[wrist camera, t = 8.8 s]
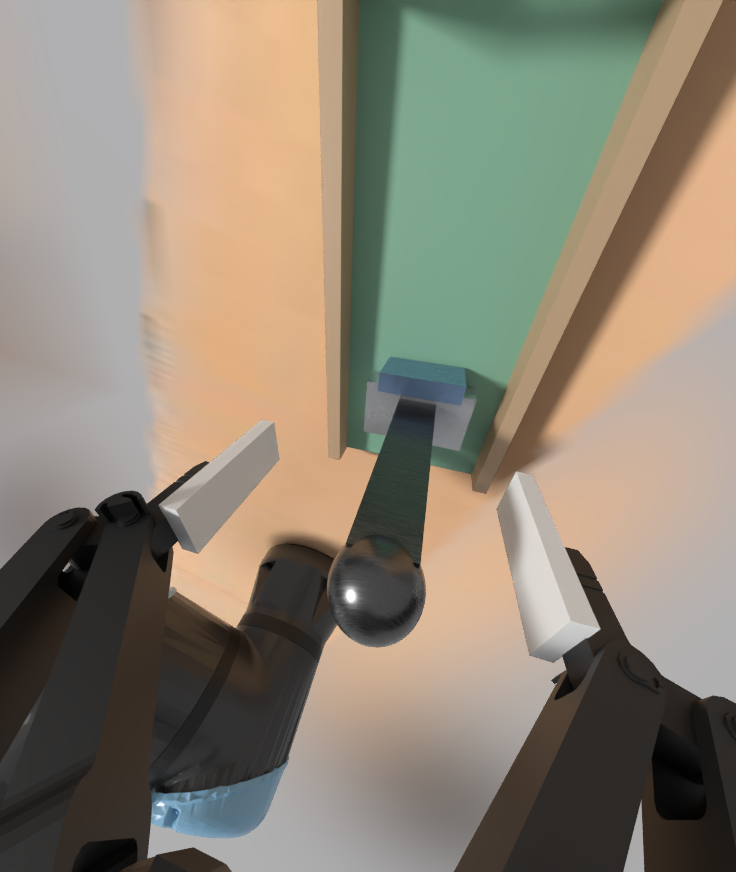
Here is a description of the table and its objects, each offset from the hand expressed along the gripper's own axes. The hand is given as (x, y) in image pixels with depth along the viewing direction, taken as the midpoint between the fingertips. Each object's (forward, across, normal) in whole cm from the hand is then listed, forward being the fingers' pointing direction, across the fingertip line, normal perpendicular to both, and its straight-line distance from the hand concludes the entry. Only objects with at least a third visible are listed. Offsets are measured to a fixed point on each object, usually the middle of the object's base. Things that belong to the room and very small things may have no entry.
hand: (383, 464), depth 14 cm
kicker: (+7, -1, -1) cm, 7 cm away
